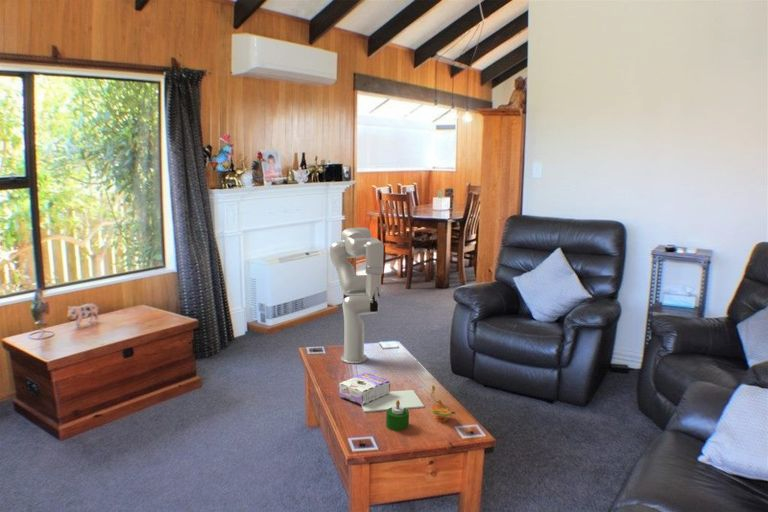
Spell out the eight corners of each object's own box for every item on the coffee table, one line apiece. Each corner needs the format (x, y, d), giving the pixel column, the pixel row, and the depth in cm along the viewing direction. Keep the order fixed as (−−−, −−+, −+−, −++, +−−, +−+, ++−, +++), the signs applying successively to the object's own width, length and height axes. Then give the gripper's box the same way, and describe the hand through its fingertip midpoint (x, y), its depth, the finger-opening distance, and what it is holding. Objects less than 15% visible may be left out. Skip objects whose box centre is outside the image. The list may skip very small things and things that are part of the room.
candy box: (366, 385, 251) (338, 396, 239) (366, 372, 250) (338, 382, 238) (390, 394, 242) (362, 406, 230) (390, 380, 241) (362, 391, 229)
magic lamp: (446, 432, 210) (447, 404, 208) (423, 412, 226) (423, 385, 225) (462, 429, 213) (464, 401, 211) (438, 409, 229) (439, 382, 227)
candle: (391, 432, 210) (392, 406, 208) (382, 422, 217) (383, 397, 216) (412, 428, 213) (413, 402, 211) (402, 419, 221) (403, 394, 219)
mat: (356, 395, 241) (356, 394, 241) (413, 391, 246) (413, 389, 246) (364, 412, 226) (364, 410, 226) (423, 407, 231) (423, 405, 231)
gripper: (362, 266, 256) (362, 307, 259) (369, 273, 242) (368, 316, 245) (379, 266, 258) (378, 306, 261) (386, 273, 243) (386, 315, 247)
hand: (373, 311), depth 253 cm, fingers closed
